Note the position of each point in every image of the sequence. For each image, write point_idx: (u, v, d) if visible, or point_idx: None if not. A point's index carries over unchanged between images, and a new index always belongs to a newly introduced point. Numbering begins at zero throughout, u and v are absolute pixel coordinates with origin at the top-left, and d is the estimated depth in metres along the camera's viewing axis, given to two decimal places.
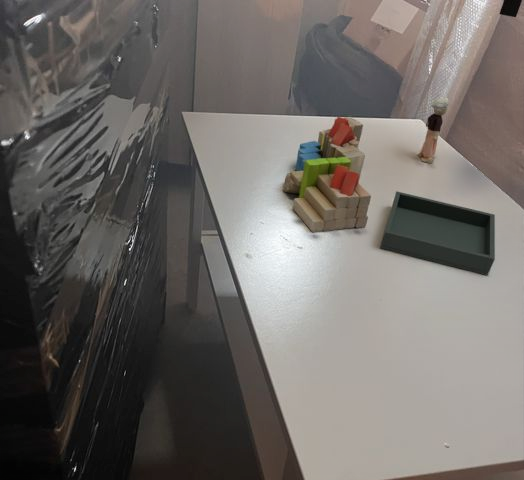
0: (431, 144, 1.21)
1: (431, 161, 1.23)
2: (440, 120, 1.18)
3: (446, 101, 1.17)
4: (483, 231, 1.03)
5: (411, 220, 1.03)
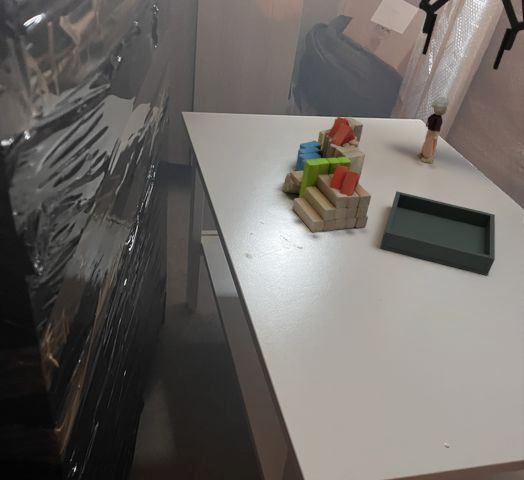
0: (431, 144, 1.21)
1: (431, 161, 1.23)
2: (440, 120, 1.18)
3: (446, 101, 1.17)
4: (483, 231, 1.03)
5: (411, 220, 1.03)
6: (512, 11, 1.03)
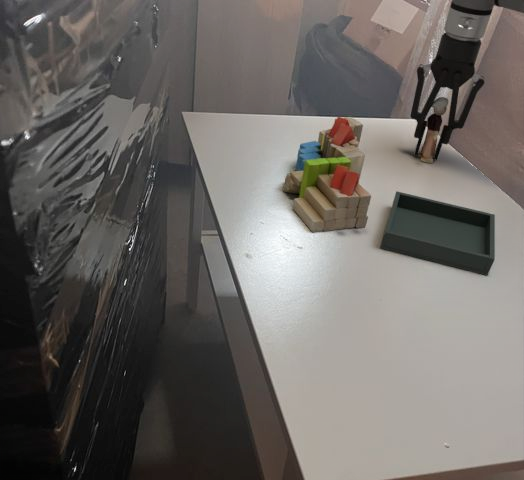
0: (431, 144, 1.21)
1: (431, 161, 1.23)
2: (440, 120, 1.18)
3: (446, 101, 1.17)
4: (483, 231, 1.03)
5: (411, 220, 1.03)
6: (454, 112, 1.17)
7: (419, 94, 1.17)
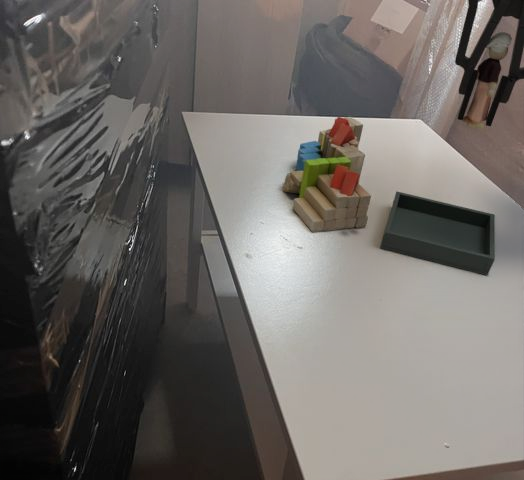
0: (483, 102, 0.85)
1: (482, 127, 0.87)
2: (498, 66, 0.82)
3: (508, 38, 0.80)
4: (483, 231, 1.03)
5: (411, 220, 1.03)
6: (520, 55, 0.81)
7: (469, 28, 0.81)
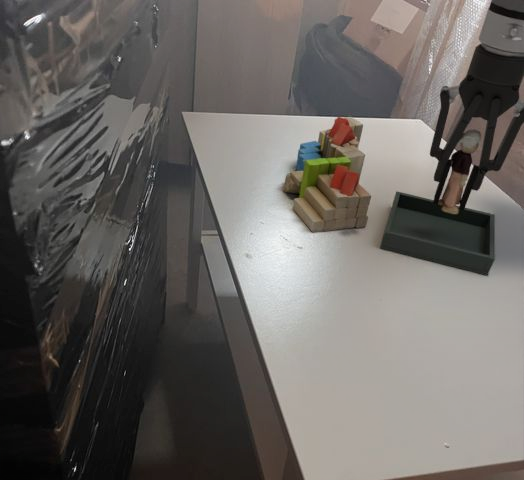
0: (456, 190, 0.92)
1: (456, 212, 0.94)
2: (469, 160, 0.89)
3: (478, 135, 0.87)
4: (483, 231, 1.03)
5: (411, 220, 1.03)
6: (489, 150, 0.87)
7: (442, 126, 0.87)
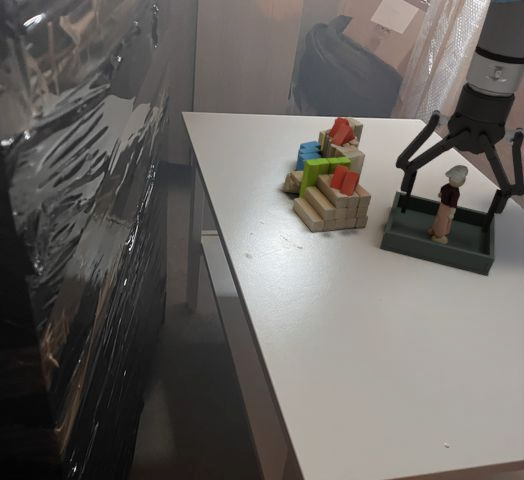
0: (445, 222, 0.96)
1: (445, 242, 0.98)
2: (457, 194, 0.92)
3: (465, 171, 0.91)
4: None
5: (411, 220, 1.03)
6: (503, 176, 0.89)
7: (419, 145, 0.90)
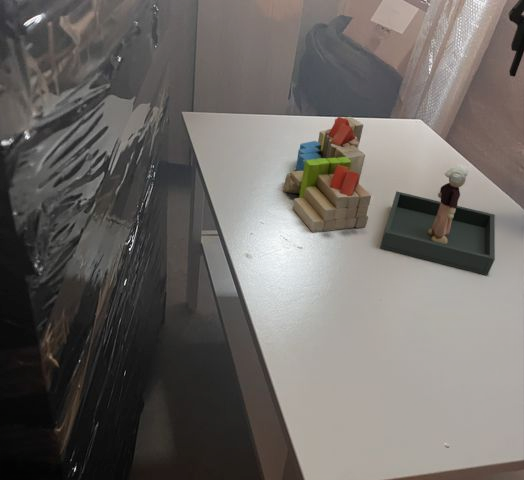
0: (445, 222, 0.96)
1: (445, 242, 0.98)
2: (457, 194, 0.92)
3: (465, 171, 0.91)
4: (483, 231, 1.03)
5: (411, 220, 1.03)
6: None
7: None
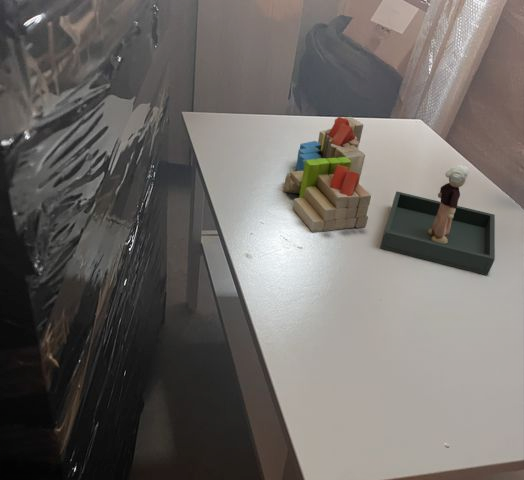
0: (445, 222, 0.96)
1: (445, 242, 0.98)
2: (457, 194, 0.92)
3: (465, 171, 0.91)
4: (483, 231, 1.03)
5: (411, 220, 1.03)
6: None
7: None
